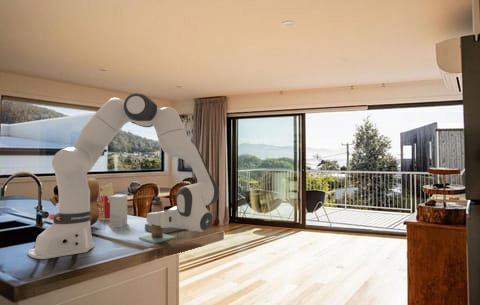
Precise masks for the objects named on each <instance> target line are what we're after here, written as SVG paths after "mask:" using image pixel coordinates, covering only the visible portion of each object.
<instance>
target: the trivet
mask: <svg viewBox="0 0 480 305" xmlns="http://www.w3.org/2000/svg"><path fill="white" fill-rule="evenodd" d="M138 239H139V240H141V241H145V242H147V243H151V244H158V243H162V242H166V241H170V240H174V239H175V240H176V236H175V235H170V234H168V233H164V234H163V237H162V238H152V234H148V235H143V236H139V237H138Z"/></svg>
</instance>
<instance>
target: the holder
mask: <svg viewBox="0 0 480 305" xmlns="http://www.w3.org/2000/svg"><path fill="white" fill-rule="evenodd" d="M182 230H184V229H181V228H174V227H172V228H163V234H168V233H173V232H176V231H182ZM144 231H147V232H150V233H152V224H150V223H145V224H144Z"/></svg>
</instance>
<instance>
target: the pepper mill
mask: <svg viewBox="0 0 480 305" xmlns="http://www.w3.org/2000/svg"><path fill="white" fill-rule="evenodd" d="M160 199H161V198H160V196H155V197H154V200H152V204H151V213H153V212H159V211H164V210H163V207H164V206H163V200H160ZM151 235H152V238H162V237H163V228H161V226H158V225H153V224H152V232H151Z"/></svg>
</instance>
